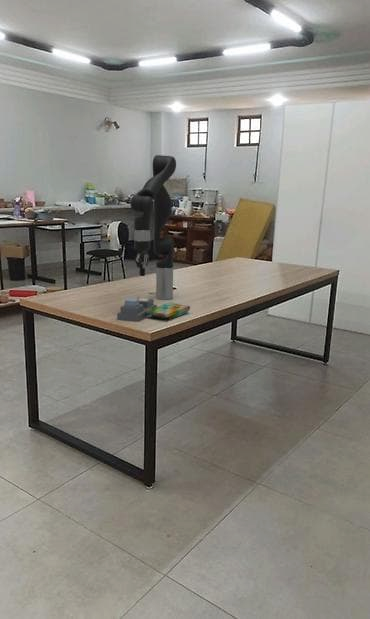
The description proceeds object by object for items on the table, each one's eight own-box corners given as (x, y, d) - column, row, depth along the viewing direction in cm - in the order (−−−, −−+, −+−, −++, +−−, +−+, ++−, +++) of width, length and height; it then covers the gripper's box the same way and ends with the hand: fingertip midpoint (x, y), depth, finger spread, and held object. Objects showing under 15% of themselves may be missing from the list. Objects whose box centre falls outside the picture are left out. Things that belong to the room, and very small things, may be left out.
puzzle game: (190, 304, 230) (166, 312, 213) (189, 313, 231) (166, 322, 214) (170, 301, 236) (145, 308, 219) (170, 310, 237) (145, 318, 221)
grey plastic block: (136, 308, 237) (136, 296, 236) (156, 310, 234) (156, 298, 233) (117, 319, 217) (116, 306, 215) (139, 321, 214) (139, 308, 212)
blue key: (129, 304, 221) (129, 298, 220) (139, 305, 220) (139, 299, 219) (124, 306, 217) (124, 300, 216) (134, 307, 215) (134, 301, 214)
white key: (140, 303, 234) (140, 297, 233) (149, 304, 232) (149, 298, 232) (136, 306, 229) (136, 300, 228) (145, 306, 228) (145, 300, 227)
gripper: (140, 237, 230) (140, 272, 235) (129, 240, 218) (129, 277, 222) (154, 238, 228) (154, 274, 232) (144, 241, 216) (144, 278, 220)
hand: (142, 275), depth 227 cm, fingers closed
